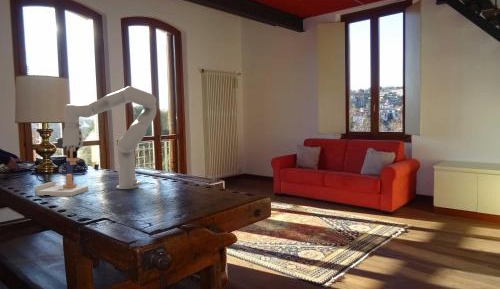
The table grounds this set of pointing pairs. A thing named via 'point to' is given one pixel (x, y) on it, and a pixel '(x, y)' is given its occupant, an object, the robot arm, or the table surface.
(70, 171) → the rubber mallet
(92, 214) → the table surface
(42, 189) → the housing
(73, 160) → the dome with square post
